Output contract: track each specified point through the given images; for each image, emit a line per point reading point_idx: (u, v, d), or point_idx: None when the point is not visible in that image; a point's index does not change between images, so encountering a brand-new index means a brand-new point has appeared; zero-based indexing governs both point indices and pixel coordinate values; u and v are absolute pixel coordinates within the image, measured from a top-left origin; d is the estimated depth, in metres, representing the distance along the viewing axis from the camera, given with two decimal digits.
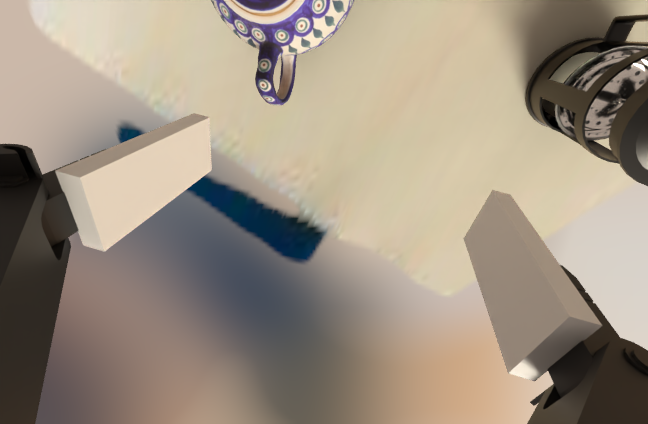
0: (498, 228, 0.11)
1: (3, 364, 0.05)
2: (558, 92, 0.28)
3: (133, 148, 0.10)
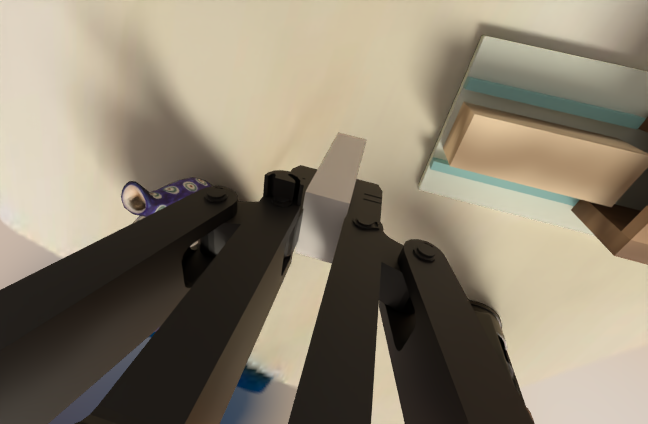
0: None
1: (222, 377, 0.05)
2: None
3: (333, 169, 0.11)
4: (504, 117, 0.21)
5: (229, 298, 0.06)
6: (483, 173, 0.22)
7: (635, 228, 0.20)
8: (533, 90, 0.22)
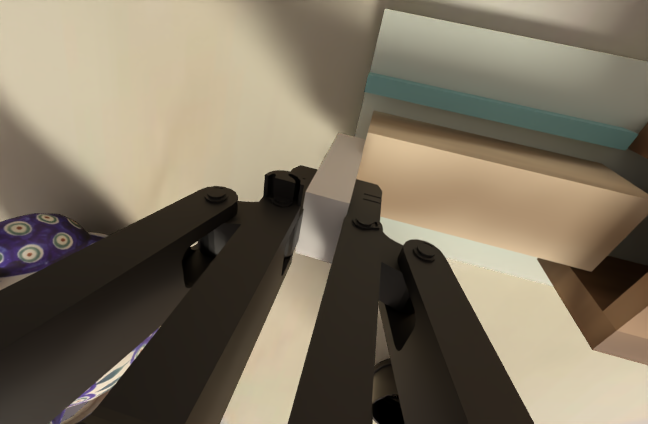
0: None
1: (223, 377, 0.05)
2: None
3: (333, 169, 0.11)
4: (421, 135, 0.13)
5: (229, 299, 0.06)
6: (397, 219, 0.14)
7: (623, 311, 0.12)
8: (467, 92, 0.14)
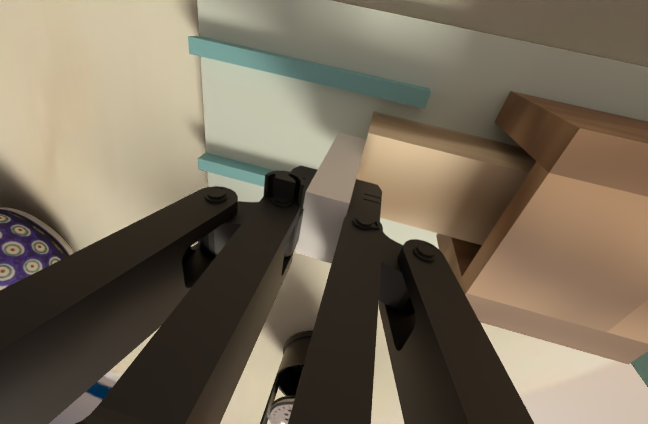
0: None
1: (222, 377, 0.05)
2: None
3: (333, 169, 0.11)
4: (422, 137, 0.13)
5: (229, 298, 0.06)
6: (396, 220, 0.14)
7: (471, 275, 0.13)
8: (286, 54, 0.15)
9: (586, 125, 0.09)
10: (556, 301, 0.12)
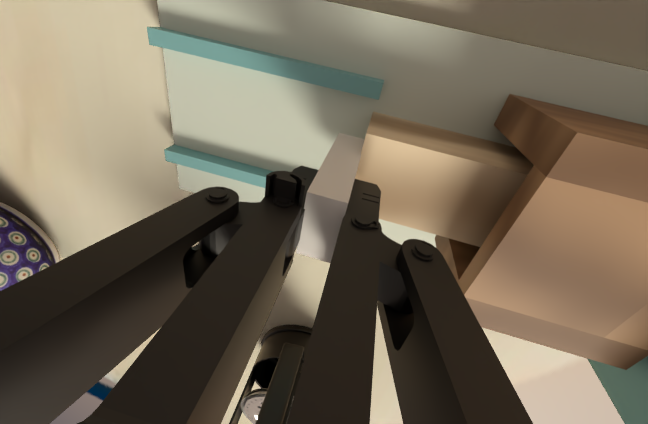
0: None
1: (224, 377, 0.05)
2: None
3: (334, 169, 0.11)
4: (420, 137, 0.13)
5: (230, 299, 0.06)
6: (394, 221, 0.14)
7: (468, 278, 0.13)
8: (245, 46, 0.15)
9: (584, 129, 0.09)
10: (553, 306, 0.12)
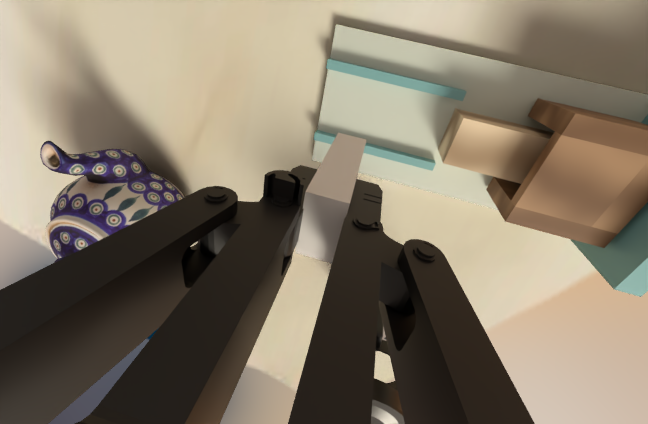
0: None
1: (222, 377, 0.05)
2: None
3: (332, 169, 0.11)
4: (489, 121, 0.24)
5: (229, 298, 0.06)
6: (472, 169, 0.25)
7: (518, 196, 0.23)
8: (382, 69, 0.26)
9: (578, 113, 0.20)
10: (564, 208, 0.23)
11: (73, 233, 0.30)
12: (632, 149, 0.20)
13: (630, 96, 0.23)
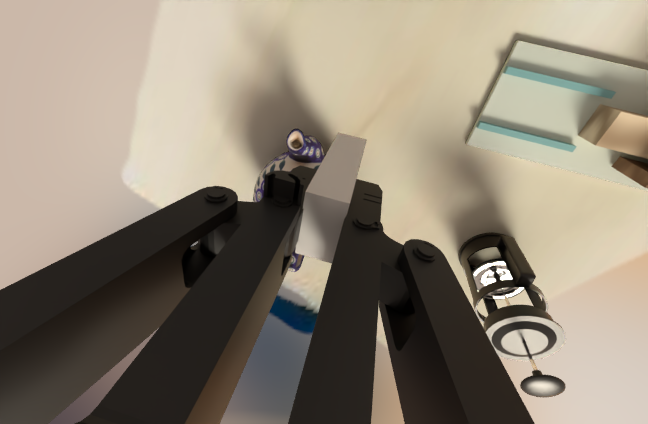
0: None
1: (222, 377, 0.05)
2: (469, 276, 0.46)
3: (332, 169, 0.11)
4: (635, 114, 0.33)
5: (229, 298, 0.06)
6: (617, 150, 0.34)
7: None
8: (547, 74, 0.35)
9: None
10: None
11: None
12: None
13: None
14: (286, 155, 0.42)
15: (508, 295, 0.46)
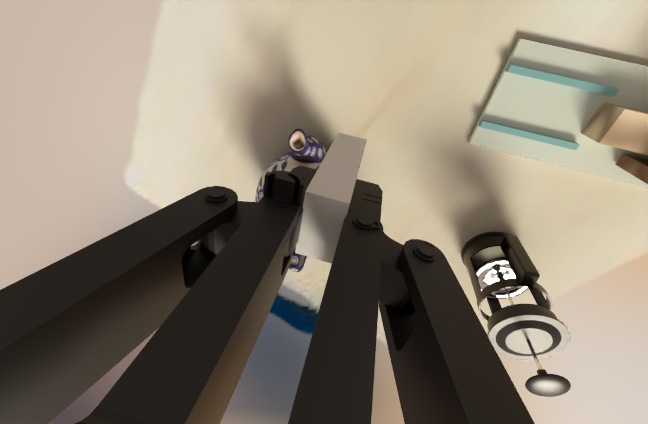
0: None
1: (223, 377, 0.05)
2: (472, 275, 0.45)
3: (332, 169, 0.11)
4: (639, 111, 0.33)
5: (229, 297, 0.06)
6: (621, 147, 0.34)
7: None
8: (550, 72, 0.35)
9: None
10: None
11: None
12: None
13: None
14: (288, 155, 0.42)
15: (512, 294, 0.46)
